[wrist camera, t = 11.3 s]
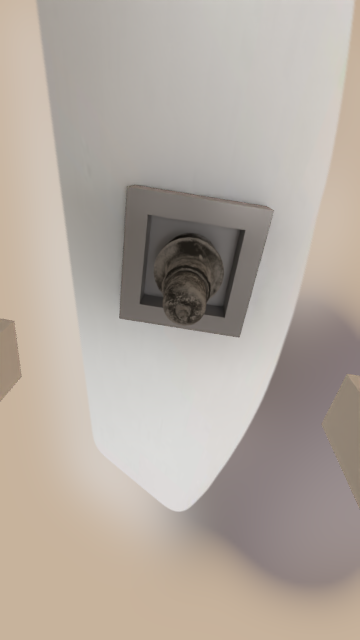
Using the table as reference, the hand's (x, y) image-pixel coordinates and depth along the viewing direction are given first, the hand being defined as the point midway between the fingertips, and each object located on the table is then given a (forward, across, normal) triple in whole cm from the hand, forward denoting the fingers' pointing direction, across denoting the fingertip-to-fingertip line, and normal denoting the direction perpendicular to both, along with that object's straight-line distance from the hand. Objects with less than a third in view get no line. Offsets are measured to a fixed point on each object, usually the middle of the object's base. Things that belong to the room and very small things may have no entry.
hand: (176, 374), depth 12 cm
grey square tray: (+18, 0, -1) cm, 18 cm away
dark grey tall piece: (+18, 0, -1) cm, 18 cm away
